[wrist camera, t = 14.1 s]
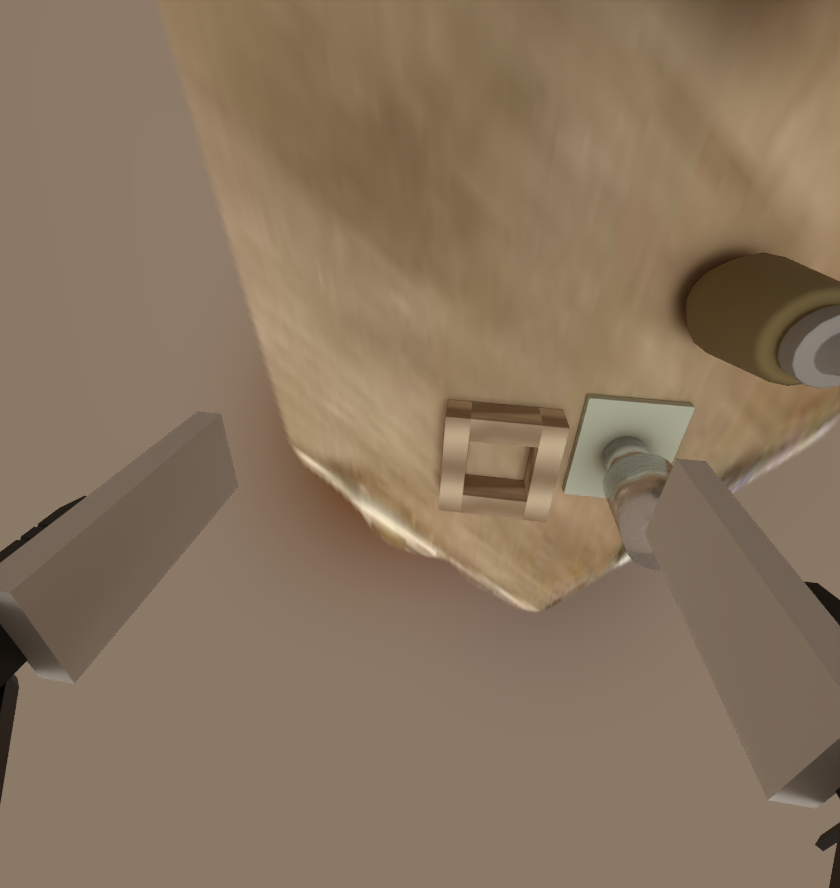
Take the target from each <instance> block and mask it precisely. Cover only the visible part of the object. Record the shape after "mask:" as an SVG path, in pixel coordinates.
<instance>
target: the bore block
mask: <svg viewBox="0 0 840 888" xmlns="http://www.w3.org/2000/svg"><path fill="white" fill-rule="evenodd" d="M569 429H570V428H569V425H568V422H567V419H566V416H565V414H564V411H563V410H559V409H548V408H536V407H525V406H514V405H503V404H492V403H481V402H469V401H458V400H449V401H448V407H447V413H446V420H445V433H444V446H443V459H442V473H441V486H440V499H439V510H443V511H452V512H461V513H469V514H478V515H487V516H495V517H504V518H513V519H522V520H530V521H539V522H546V520H547V516H548V512H549V508H550V504H551V500H552V496H553V492H554V488H555V484H556V480H557V476H558V473H559V469H560V465H561V461H562V457H563V453H564V449H565V445H566V441H567V437H568V433H569ZM469 441H476V442H486V443H496V444H506V445H516V446H526V447H531V449H530V454H529V459H528V463H527V468H526V473H525V478H524V481H523V480H513V479H504V478H494V477H485V476H475V475H466V474H465V468H466V459H467V451H468V442H469Z"/></svg>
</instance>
